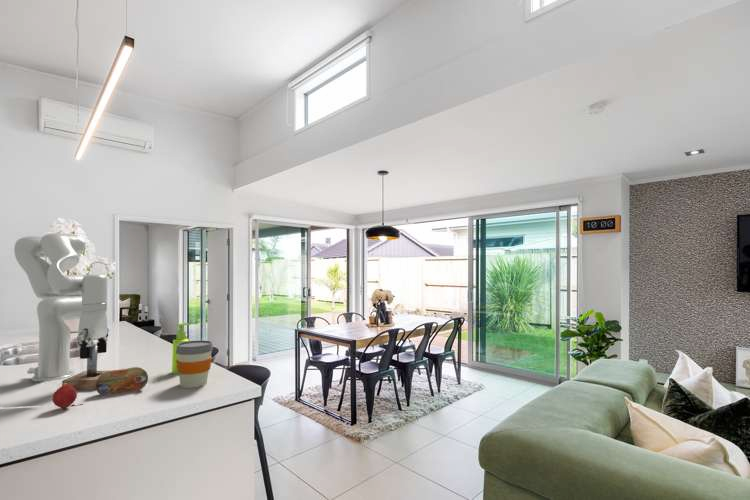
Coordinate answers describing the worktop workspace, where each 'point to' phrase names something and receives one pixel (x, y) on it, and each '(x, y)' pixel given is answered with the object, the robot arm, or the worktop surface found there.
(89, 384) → the rod stand
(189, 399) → the worktop surface
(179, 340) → the soap dispenser
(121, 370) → the tin
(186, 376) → the reusable coffee cup
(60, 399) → the onion
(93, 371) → the metal rod
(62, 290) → the robot arm
